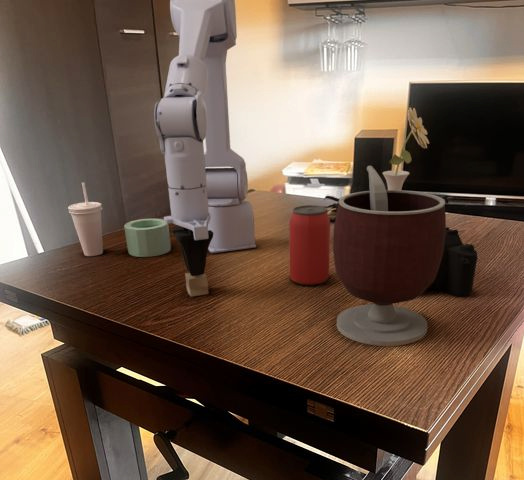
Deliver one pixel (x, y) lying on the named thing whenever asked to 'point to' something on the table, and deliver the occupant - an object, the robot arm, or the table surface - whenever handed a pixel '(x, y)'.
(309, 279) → the beer can
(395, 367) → the table surface
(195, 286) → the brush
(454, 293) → the film camera
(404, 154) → the flower in vase
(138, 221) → the pale green hollow ring
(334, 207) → the toy figure
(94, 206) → the smoothie
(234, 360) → the table surface
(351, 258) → the mate gourd
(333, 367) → the table surface
